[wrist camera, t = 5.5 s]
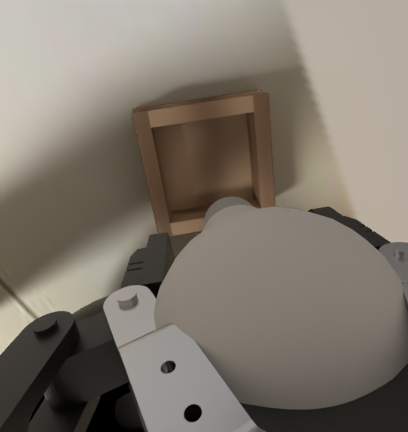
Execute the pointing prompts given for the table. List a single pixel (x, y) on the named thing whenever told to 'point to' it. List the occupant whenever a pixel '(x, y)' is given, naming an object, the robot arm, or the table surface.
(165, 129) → the wooden tray
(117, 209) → the table surface
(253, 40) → the table surface
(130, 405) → the coal bowl
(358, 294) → the lightbulb
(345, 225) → the robot arm
